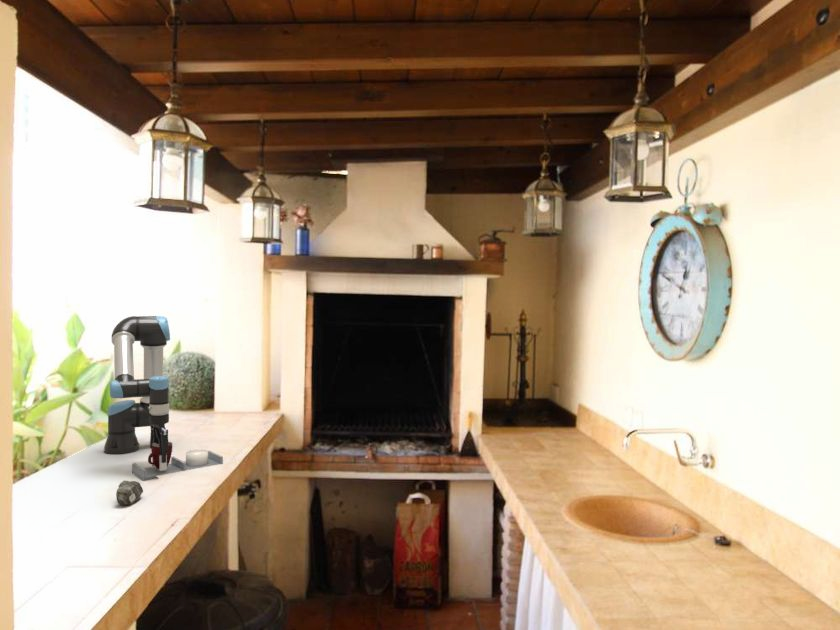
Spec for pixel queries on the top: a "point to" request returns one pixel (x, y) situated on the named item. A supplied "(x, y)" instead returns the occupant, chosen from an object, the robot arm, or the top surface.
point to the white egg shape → (197, 458)
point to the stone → (128, 492)
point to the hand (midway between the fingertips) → (159, 467)
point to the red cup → (156, 452)
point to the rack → (173, 467)
